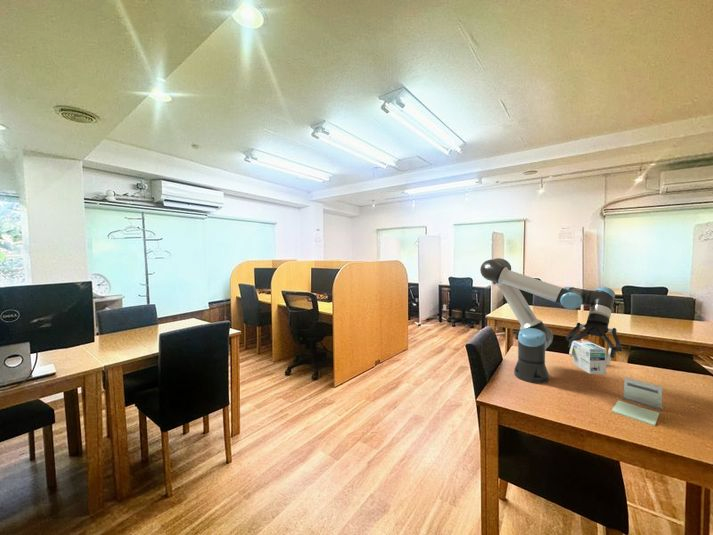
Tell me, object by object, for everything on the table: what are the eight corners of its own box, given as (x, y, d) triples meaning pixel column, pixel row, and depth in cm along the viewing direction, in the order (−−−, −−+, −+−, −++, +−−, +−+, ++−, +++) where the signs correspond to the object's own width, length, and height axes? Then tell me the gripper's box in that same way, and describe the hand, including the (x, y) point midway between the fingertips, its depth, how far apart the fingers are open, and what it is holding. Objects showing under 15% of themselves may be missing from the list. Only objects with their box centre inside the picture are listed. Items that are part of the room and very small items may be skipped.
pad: (611, 411, 114) (611, 410, 114) (618, 401, 121) (618, 400, 121) (654, 425, 105) (655, 424, 105) (659, 414, 112) (659, 412, 112)
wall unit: (622, 398, 123) (623, 378, 122) (623, 396, 125) (624, 376, 124) (661, 410, 114) (662, 388, 113) (662, 408, 116) (663, 386, 115)
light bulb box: (606, 374, 118) (607, 348, 117) (589, 374, 118) (590, 349, 117) (587, 363, 128) (588, 340, 127) (572, 363, 129) (572, 340, 128)
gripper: (636, 327, 123) (628, 372, 115) (568, 317, 142) (557, 355, 134) (634, 317, 119) (625, 363, 111) (565, 308, 138) (553, 347, 130)
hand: (588, 359), depth 122 cm, fingers closed on light bulb box, 12 cm apart
